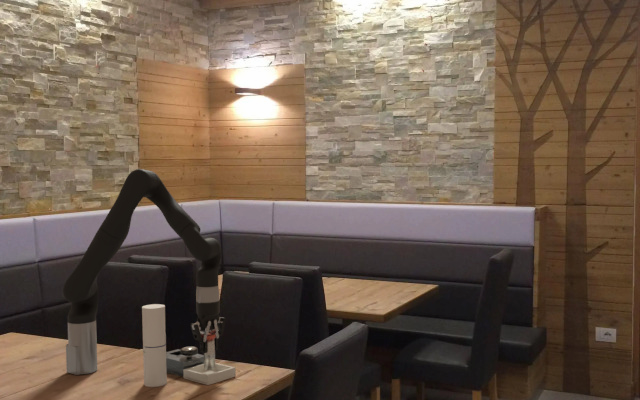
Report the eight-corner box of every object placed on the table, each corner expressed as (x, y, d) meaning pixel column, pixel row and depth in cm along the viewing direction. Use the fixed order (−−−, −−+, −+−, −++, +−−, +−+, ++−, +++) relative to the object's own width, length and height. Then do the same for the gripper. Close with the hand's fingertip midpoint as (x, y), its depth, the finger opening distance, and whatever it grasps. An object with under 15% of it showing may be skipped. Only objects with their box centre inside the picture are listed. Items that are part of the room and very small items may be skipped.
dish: (208, 385, 234) (208, 375, 233) (183, 378, 241) (183, 369, 241) (235, 376, 243) (235, 367, 243) (211, 370, 250) (210, 361, 250)
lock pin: (209, 370, 239) (208, 336, 238) (200, 368, 242) (199, 335, 241) (219, 367, 242) (218, 334, 242) (210, 365, 245) (209, 332, 244)
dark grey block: (183, 377, 243) (183, 352, 242) (155, 369, 252) (154, 345, 252) (206, 370, 250) (206, 346, 250) (178, 363, 260) (177, 340, 259)
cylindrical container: (155, 388, 231) (153, 309, 230) (139, 384, 235) (137, 307, 234) (171, 382, 237) (169, 305, 236) (155, 379, 241) (153, 303, 240)
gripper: (216, 295, 249) (217, 345, 249) (183, 301, 238) (184, 354, 238) (231, 297, 244) (232, 348, 245) (199, 304, 233) (200, 357, 234)
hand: (209, 350), depth 242 cm, fingers closed on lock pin, 4 cm apart
